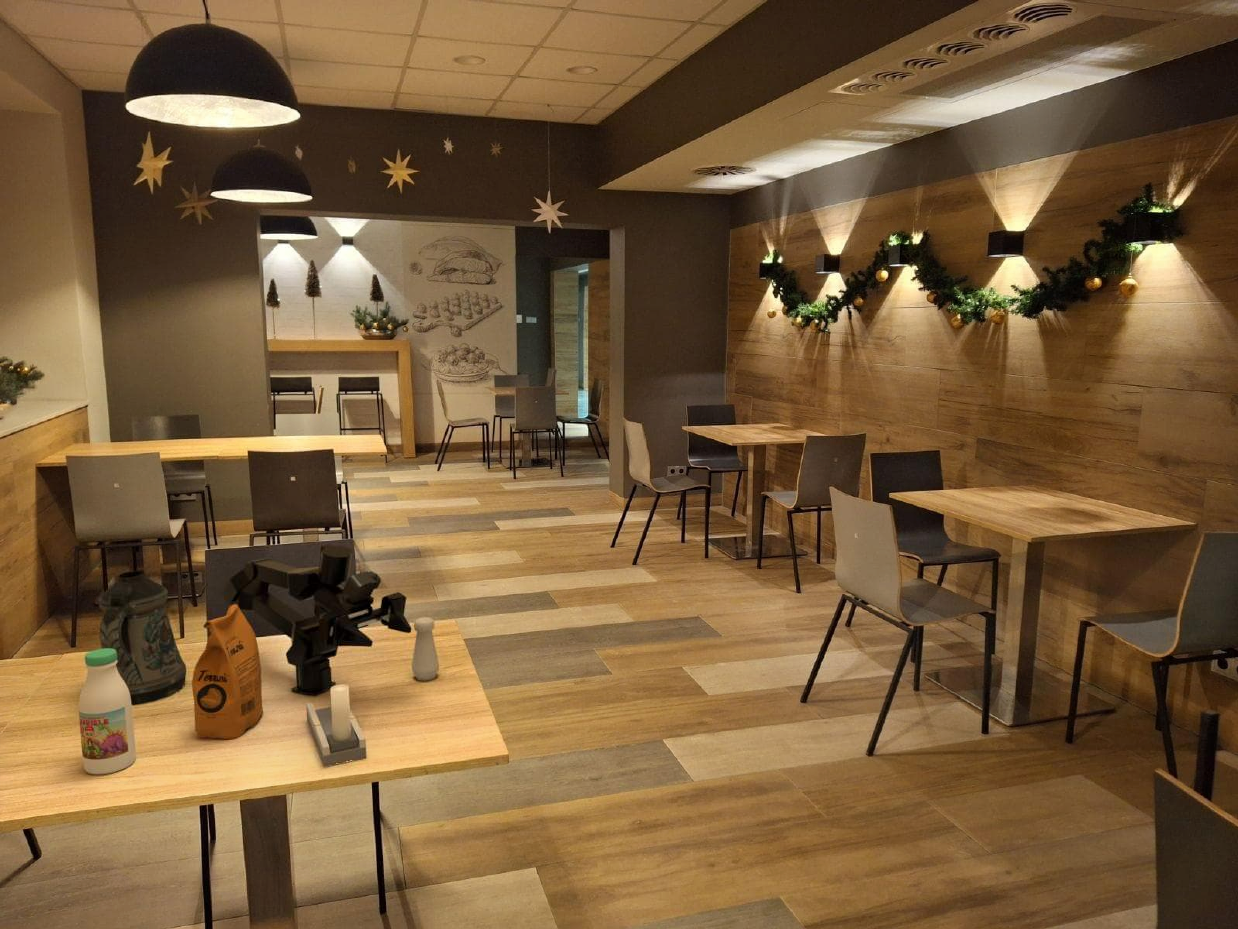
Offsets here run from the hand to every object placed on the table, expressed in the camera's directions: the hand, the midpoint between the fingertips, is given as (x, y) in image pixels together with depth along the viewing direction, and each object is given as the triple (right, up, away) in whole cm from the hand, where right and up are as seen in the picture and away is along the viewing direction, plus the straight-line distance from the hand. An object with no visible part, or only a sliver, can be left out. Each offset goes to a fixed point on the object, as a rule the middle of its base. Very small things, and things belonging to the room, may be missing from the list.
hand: (391, 637), depth 161 cm
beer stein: (-55, -15, +15) cm, 59 cm away
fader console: (-9, -17, -6) cm, 20 cm away
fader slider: (-5, -16, -13) cm, 21 cm away
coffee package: (-30, -17, -1) cm, 35 cm away
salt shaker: (+1, -13, +23) cm, 27 cm away
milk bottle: (-44, -19, -15) cm, 50 cm away
